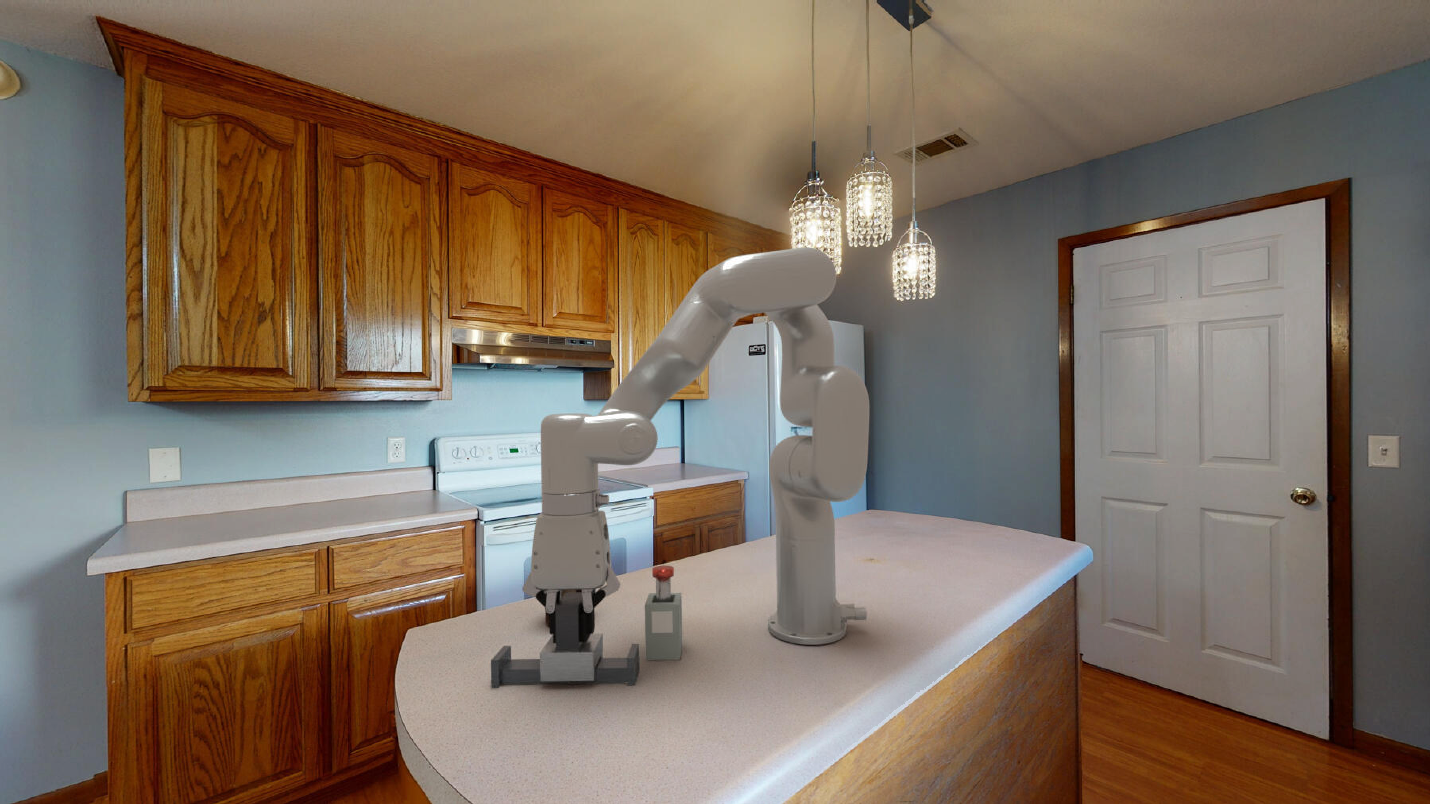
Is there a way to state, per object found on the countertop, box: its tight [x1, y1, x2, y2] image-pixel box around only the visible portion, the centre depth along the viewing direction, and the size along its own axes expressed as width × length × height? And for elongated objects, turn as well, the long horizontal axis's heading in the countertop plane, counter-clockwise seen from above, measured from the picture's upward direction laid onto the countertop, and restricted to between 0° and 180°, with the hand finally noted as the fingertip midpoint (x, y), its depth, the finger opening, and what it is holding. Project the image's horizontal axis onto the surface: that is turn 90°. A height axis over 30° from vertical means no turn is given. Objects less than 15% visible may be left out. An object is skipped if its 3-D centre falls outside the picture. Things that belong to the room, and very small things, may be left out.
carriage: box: [539, 592, 604, 681], centre depth 75 cm, size 7×6×10 cm
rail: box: [490, 643, 640, 689], centre depth 75 cm, size 19×4×4 cm, turn 90°
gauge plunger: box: [651, 565, 675, 603], centre depth 82 cm, size 3×3×7 cm
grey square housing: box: [644, 592, 683, 661], centre depth 82 cm, size 5×5×8 cm
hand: (572, 637), depth 75 cm, fingers closed on carriage, 3 cm apart
